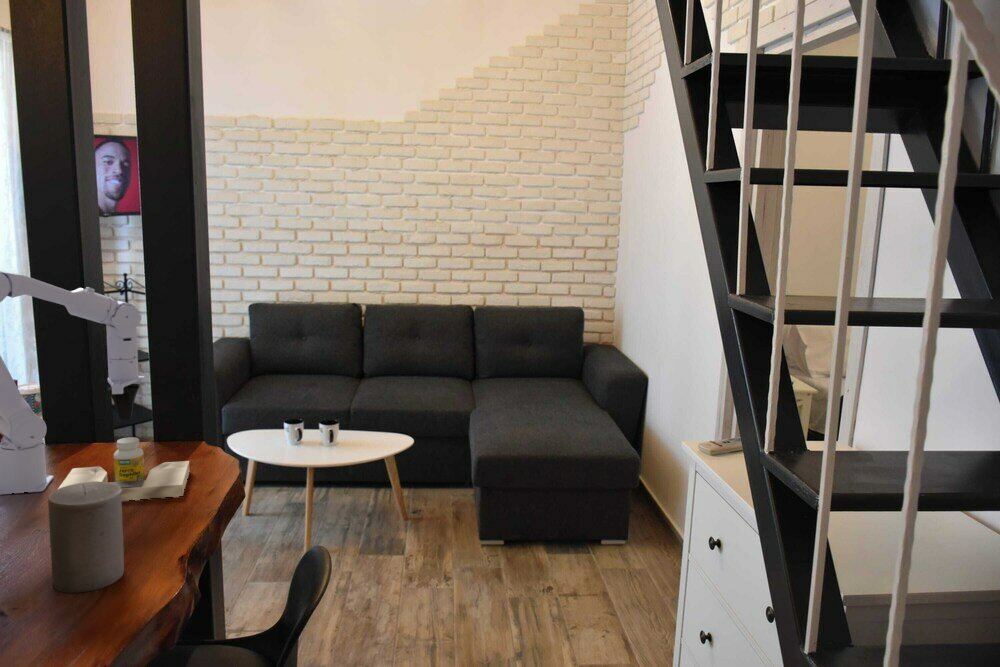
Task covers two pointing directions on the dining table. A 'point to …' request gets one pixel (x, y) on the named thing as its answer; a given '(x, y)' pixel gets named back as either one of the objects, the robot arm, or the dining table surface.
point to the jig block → (140, 481)
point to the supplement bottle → (128, 460)
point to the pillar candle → (86, 536)
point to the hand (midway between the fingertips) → (125, 418)
